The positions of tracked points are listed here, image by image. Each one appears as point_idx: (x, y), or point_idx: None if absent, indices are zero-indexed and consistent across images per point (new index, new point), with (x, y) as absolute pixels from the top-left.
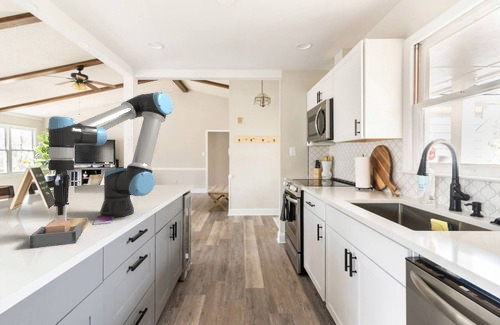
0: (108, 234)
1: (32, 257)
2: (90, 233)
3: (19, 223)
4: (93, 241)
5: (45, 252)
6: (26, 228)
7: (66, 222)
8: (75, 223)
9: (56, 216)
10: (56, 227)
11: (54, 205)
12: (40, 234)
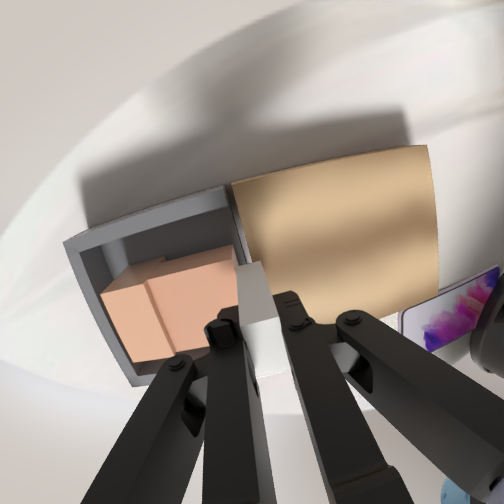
0: None
1: (30, 289)
2: None
3: (451, 7)
4: None
5: (61, 304)
6: (395, 41)
7: None
8: (330, 302)
9: (237, 287)
10: (120, 330)
11: (206, 335)
12: (82, 275)
